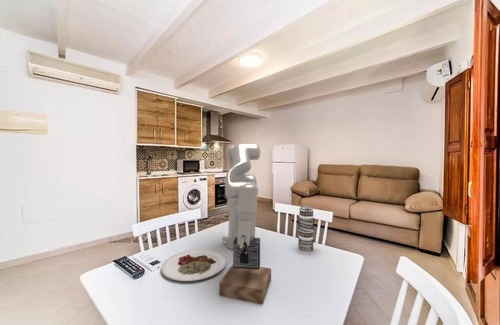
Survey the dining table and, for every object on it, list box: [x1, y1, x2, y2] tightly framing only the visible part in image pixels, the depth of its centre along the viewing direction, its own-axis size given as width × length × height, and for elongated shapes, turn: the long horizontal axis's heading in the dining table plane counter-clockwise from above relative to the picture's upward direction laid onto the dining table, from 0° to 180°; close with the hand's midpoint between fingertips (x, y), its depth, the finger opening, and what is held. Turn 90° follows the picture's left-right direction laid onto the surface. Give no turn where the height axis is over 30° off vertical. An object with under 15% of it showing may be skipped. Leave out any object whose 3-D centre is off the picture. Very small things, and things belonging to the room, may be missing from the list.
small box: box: [232, 237, 261, 270], centre depth 87 cm, size 11×6×10 cm, turn 84°
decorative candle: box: [297, 205, 316, 255], centre depth 122 cm, size 9×9×25 cm
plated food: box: [160, 249, 227, 282], centre depth 104 cm, size 30×30×3 cm
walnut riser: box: [218, 264, 272, 305], centre depth 87 cm, size 17×16×5 cm
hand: (247, 258), depth 87 cm, fingers closed on small box, 7 cm apart
